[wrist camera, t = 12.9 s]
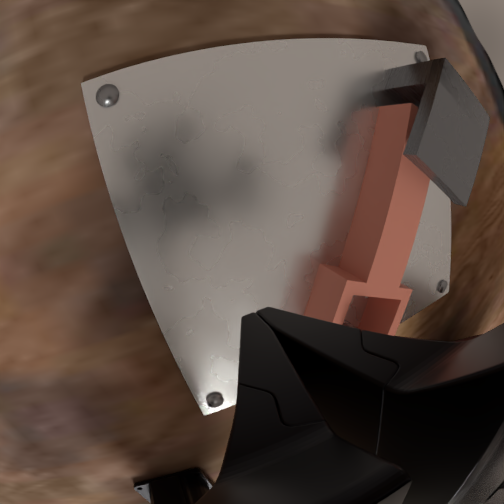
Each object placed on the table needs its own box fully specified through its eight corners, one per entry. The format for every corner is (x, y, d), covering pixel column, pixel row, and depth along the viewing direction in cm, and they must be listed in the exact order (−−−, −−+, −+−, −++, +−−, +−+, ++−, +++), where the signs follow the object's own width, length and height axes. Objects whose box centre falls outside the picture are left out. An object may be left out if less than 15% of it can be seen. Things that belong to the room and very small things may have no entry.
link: (357, 346, 23) (380, 366, 20) (292, 346, 21) (313, 371, 18) (421, 132, 20) (452, 133, 17) (362, 97, 17) (394, 91, 15)
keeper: (409, 193, 21) (466, 206, 16) (354, 151, 18) (416, 155, 14) (435, 117, 20) (489, 117, 15) (387, 69, 18) (445, 57, 13)
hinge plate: (446, 291, 26) (450, 292, 25) (203, 413, 20) (204, 417, 20) (423, 46, 18) (427, 45, 18) (81, 84, 12) (80, 82, 12)
